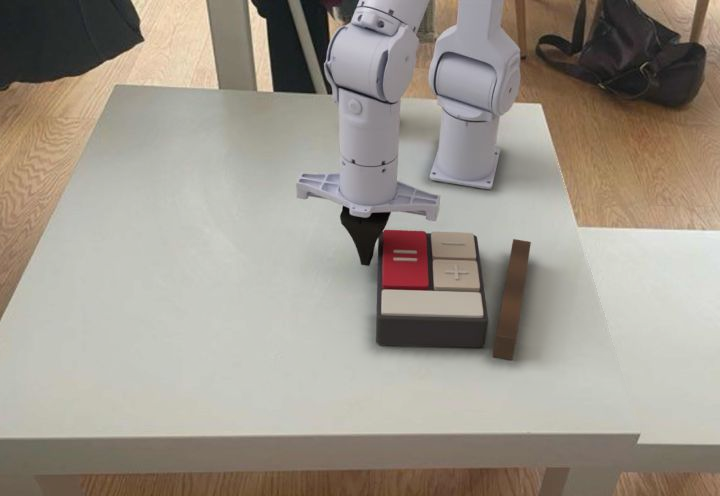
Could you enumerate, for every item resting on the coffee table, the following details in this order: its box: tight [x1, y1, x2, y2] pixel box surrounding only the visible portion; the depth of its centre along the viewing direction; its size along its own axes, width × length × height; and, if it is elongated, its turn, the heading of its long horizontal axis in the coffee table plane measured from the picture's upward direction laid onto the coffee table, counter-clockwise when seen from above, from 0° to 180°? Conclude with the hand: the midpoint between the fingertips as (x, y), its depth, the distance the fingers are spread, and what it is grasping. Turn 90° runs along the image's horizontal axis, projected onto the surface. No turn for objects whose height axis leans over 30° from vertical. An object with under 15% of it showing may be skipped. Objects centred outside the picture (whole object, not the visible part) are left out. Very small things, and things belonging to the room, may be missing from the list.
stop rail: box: [492, 238, 532, 361], centre depth 87 cm, size 16×2×3 cm, turn 171°
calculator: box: [375, 229, 489, 348], centre depth 86 cm, size 11×4×15 cm
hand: (367, 260), depth 89 cm, fingers closed
